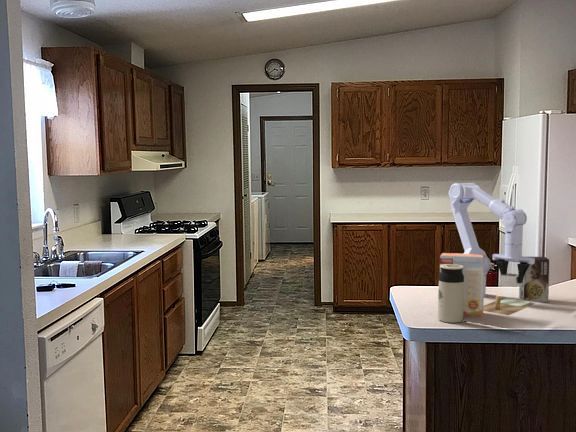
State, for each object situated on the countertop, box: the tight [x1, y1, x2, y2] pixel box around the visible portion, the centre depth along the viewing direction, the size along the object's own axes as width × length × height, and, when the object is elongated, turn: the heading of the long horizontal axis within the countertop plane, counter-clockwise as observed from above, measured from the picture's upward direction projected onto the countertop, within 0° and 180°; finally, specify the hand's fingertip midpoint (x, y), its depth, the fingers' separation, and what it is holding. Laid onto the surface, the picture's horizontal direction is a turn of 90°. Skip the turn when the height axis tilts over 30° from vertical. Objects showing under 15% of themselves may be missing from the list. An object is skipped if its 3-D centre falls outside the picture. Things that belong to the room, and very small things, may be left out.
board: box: [483, 295, 535, 316], centre depth 217 cm, size 12×22×6 cm, turn 137°
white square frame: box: [501, 272, 522, 288], centre depth 219 cm, size 5×5×4 cm
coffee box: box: [518, 256, 550, 303], centre depth 229 cm, size 9×6×16 cm
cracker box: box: [439, 252, 485, 318], centre depth 207 cm, size 14×6×21 cm, turn 69°
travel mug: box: [437, 264, 464, 324], centre depth 201 cm, size 8×8×18 cm
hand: (512, 281), depth 220 cm, fingers closed on white square frame, 5 cm apart
